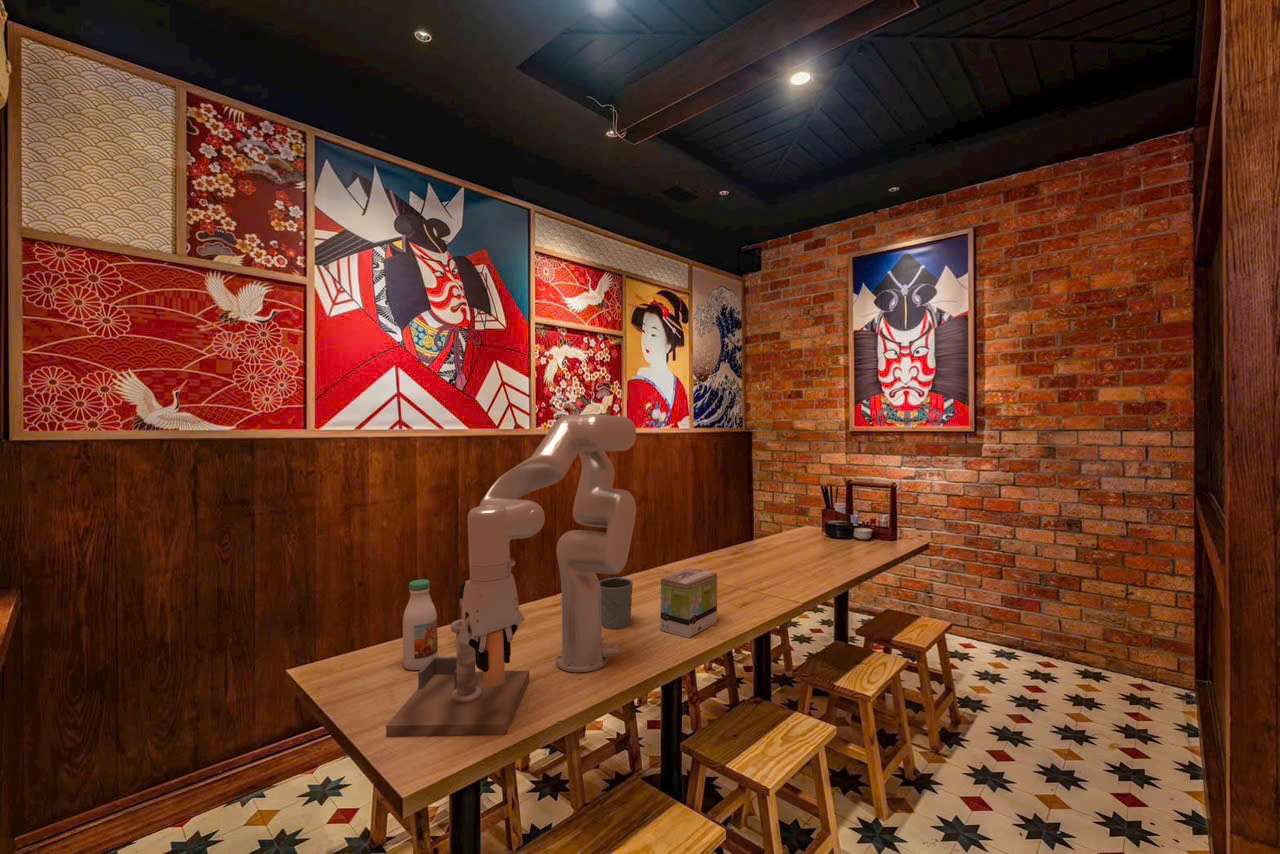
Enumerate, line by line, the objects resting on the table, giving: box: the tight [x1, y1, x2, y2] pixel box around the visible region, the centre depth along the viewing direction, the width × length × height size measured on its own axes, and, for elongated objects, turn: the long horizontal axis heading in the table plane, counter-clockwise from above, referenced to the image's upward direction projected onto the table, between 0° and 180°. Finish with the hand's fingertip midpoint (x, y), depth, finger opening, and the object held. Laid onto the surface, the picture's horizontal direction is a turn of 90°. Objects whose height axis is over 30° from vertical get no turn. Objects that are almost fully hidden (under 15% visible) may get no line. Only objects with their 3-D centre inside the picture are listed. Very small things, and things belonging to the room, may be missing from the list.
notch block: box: [417, 656, 457, 689], centre depth 119 cm, size 8×8×4 cm
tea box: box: [659, 567, 718, 639], centre depth 154 cm, size 15×10×15 cm, turn 143°
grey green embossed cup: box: [599, 577, 634, 630], centre depth 157 cm, size 10×10×12 cm
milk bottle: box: [402, 579, 439, 671], centre depth 132 cm, size 8×8×20 cm
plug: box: [483, 629, 506, 687], centre depth 105 cm, size 4×4×10 cm
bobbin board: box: [385, 618, 530, 738], centre depth 112 cm, size 22×22×17 cm
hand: (493, 664), depth 105 cm, fingers closed on plug, 4 cm apart
